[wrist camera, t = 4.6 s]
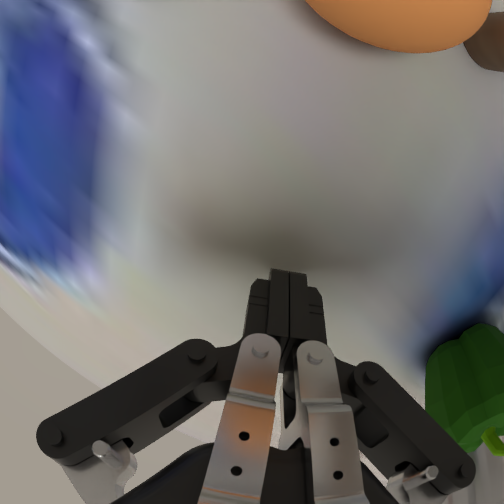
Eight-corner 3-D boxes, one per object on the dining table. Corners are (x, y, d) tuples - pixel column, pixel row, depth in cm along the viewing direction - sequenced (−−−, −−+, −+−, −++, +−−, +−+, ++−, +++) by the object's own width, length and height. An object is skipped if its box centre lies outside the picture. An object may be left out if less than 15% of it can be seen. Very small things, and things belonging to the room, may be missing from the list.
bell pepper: (424, 388, 20) (443, 489, 12) (398, 350, 17) (424, 490, 9) (504, 343, 16) (539, 440, 8) (501, 288, 13) (563, 416, 5)
